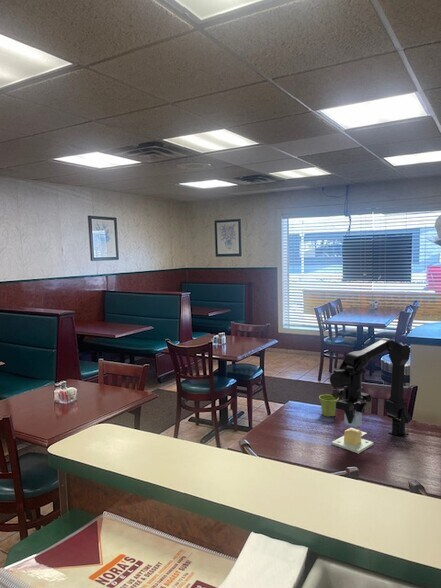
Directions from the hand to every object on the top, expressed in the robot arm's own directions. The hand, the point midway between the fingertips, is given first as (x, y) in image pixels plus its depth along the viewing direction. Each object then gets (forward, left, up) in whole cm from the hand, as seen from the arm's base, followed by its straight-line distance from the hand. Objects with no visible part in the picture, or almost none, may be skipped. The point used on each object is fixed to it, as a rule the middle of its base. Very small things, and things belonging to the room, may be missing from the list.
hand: (353, 421), depth 179 cm
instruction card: (-12, -4, -10) cm, 16 cm away
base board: (0, 0, -10) cm, 10 cm away
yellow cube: (0, 0, -9) cm, 9 cm away
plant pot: (-23, -26, -10) cm, 36 cm away
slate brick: (0, 0, -1) cm, 1 cm away
